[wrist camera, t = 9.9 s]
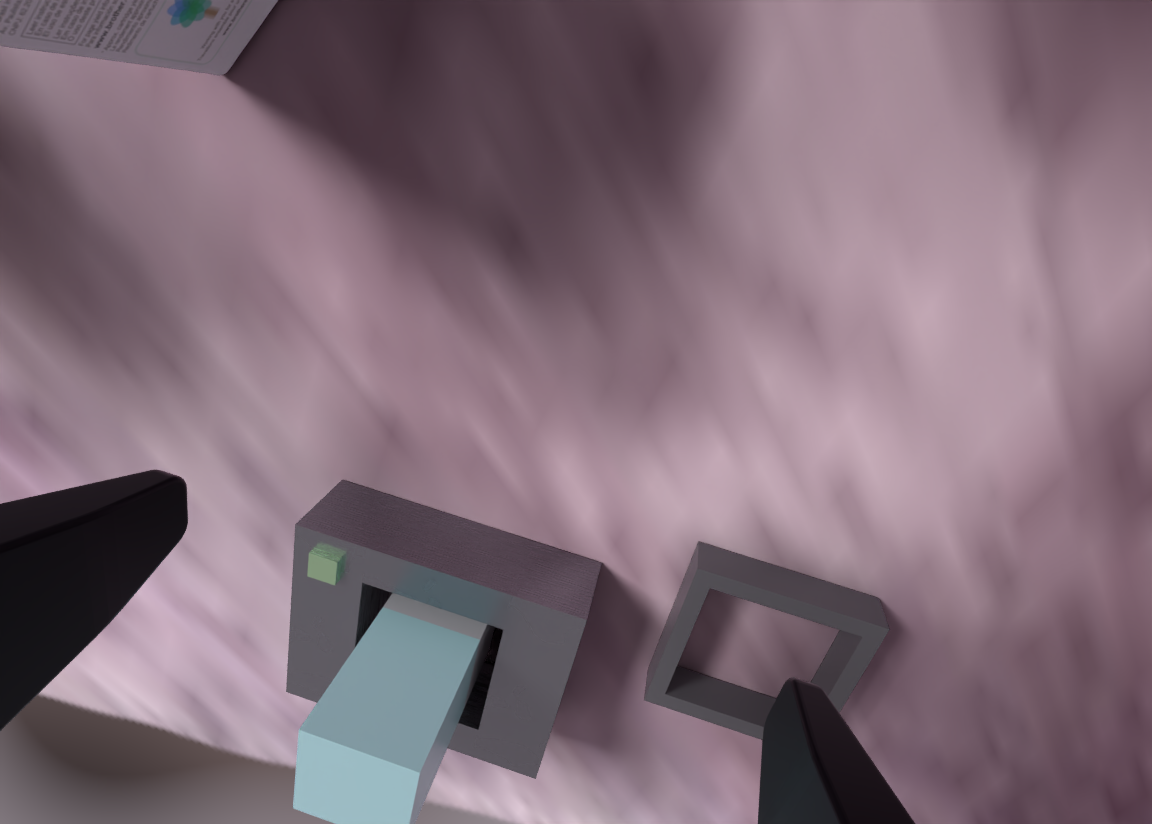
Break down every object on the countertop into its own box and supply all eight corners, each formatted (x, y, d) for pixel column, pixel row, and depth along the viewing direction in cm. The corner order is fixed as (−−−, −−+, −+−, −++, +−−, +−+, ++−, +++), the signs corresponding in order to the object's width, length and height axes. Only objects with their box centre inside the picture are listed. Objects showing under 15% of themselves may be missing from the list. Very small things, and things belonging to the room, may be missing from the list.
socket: (601, 562, 23) (585, 626, 20) (553, 713, 27) (533, 786, 24) (342, 479, 24) (289, 529, 21) (328, 636, 28) (281, 697, 25)
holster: (878, 597, 22) (889, 629, 20) (807, 721, 24) (812, 756, 23) (698, 541, 22) (697, 568, 21) (648, 669, 25) (644, 700, 24)
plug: (505, 583, 25) (419, 773, 17) (489, 649, 26) (404, 848, 19) (418, 554, 25) (298, 729, 18) (407, 621, 26) (293, 808, 19)
